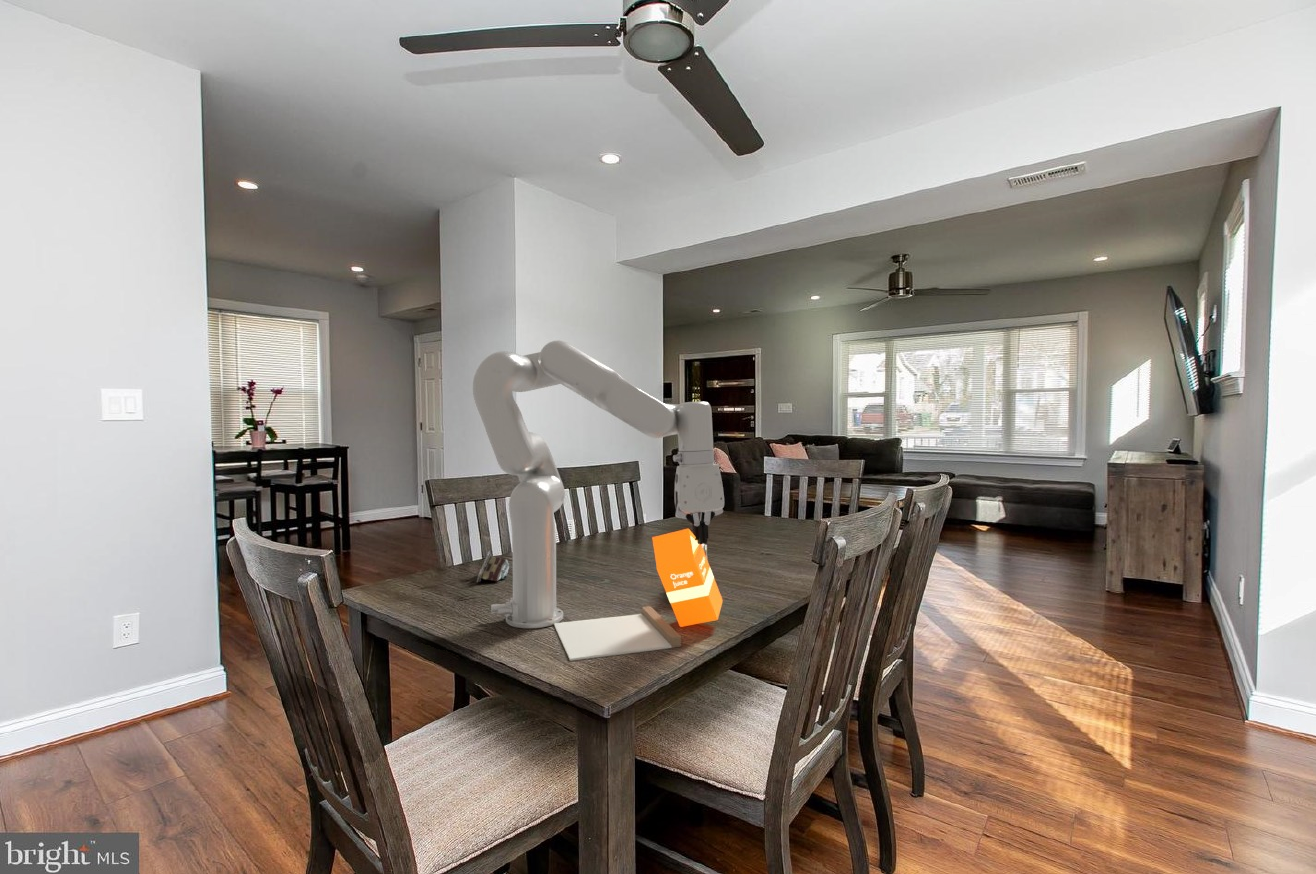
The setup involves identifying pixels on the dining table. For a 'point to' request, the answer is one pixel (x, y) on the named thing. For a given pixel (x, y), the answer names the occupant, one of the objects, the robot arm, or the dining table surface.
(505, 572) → the chocolate cake
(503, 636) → the dining table surface
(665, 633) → the mat
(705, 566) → the orange juice
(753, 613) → the dining table surface
